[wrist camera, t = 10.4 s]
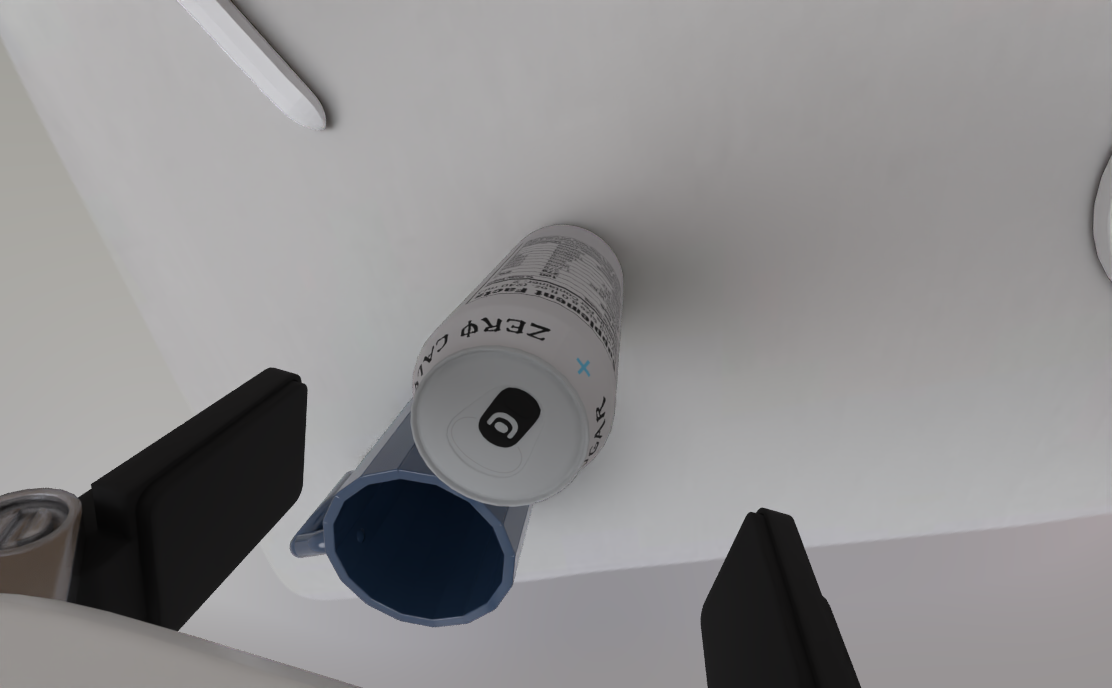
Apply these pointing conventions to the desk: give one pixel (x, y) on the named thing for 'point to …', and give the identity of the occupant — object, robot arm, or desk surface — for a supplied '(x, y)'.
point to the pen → (258, 60)
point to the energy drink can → (524, 372)
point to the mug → (414, 537)
